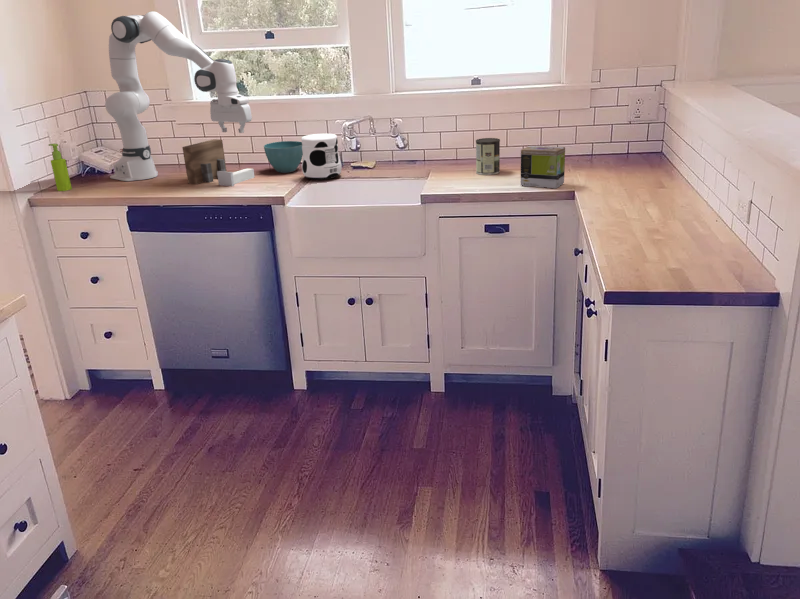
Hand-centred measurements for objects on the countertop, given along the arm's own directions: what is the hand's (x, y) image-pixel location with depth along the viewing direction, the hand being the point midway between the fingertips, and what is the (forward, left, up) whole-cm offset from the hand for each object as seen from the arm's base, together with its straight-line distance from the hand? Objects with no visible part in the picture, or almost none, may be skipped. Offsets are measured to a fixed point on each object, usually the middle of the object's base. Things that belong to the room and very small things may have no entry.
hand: (233, 132), depth 302 cm
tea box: (+128, +32, -22) cm, 134 cm away
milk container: (+33, +17, -22) cm, 43 cm away
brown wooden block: (-16, -1, -21) cm, 27 cm away
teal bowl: (+8, +24, -22) cm, 33 cm away
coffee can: (+99, +47, -22) cm, 112 cm away
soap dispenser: (-68, -38, -21) cm, 81 cm away
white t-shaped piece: (0, 0, -21) cm, 21 cm away
